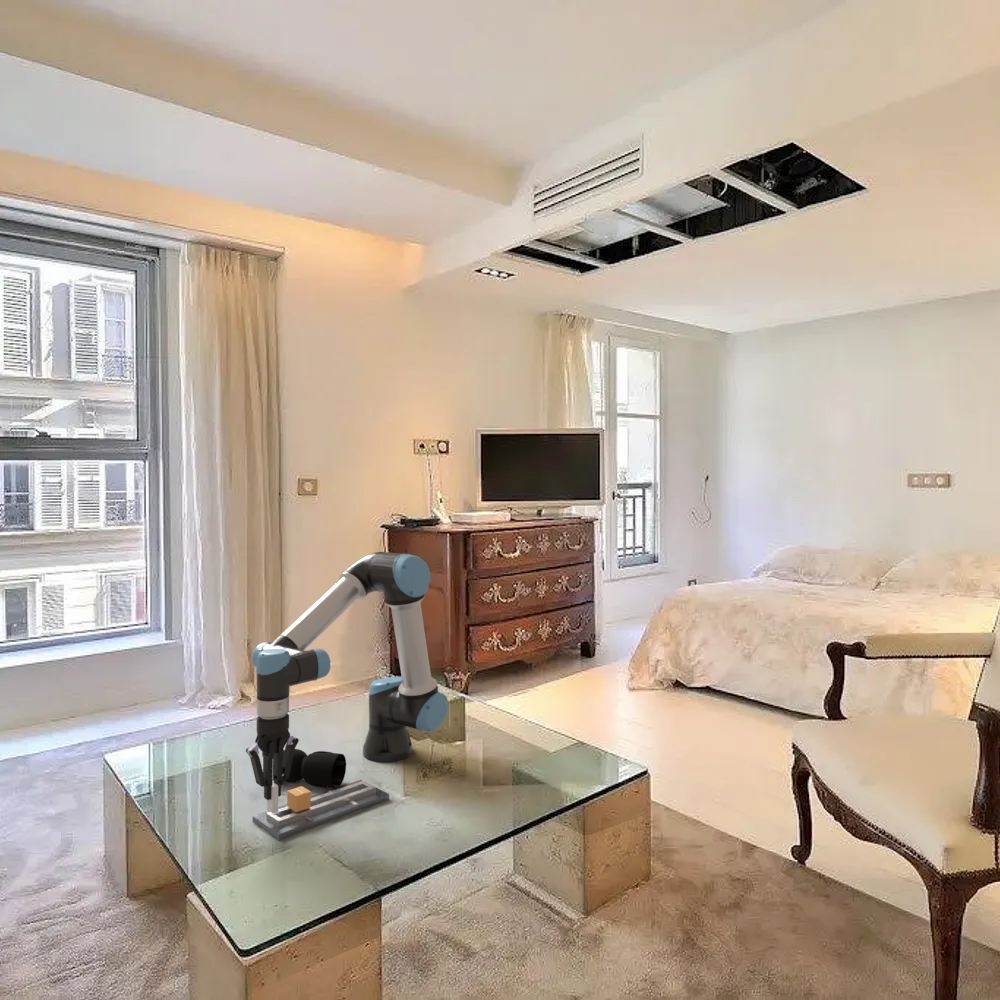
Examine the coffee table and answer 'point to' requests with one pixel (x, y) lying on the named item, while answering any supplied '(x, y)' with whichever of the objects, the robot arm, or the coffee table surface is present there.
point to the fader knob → (298, 799)
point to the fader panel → (321, 809)
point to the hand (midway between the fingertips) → (272, 810)
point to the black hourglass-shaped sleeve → (317, 768)
